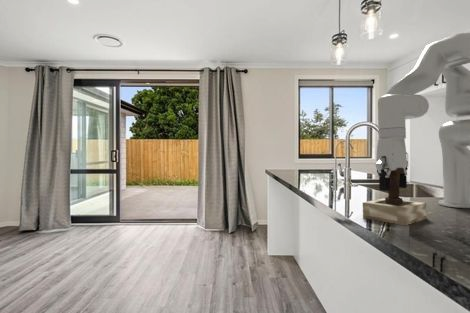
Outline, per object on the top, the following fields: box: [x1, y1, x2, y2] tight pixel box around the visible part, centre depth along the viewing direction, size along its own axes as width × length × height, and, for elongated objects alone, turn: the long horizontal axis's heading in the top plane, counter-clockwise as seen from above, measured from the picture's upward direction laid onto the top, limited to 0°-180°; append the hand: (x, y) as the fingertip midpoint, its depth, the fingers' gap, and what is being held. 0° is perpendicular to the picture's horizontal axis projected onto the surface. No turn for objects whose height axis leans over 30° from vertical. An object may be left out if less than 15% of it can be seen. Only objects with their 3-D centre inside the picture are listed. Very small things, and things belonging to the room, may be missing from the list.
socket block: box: [362, 197, 428, 227], centre depth 90 cm, size 13×13×5 cm
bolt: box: [384, 168, 404, 206], centre depth 90 cm, size 6×5×15 cm
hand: (393, 189), depth 90 cm, fingers open, 9 cm apart
